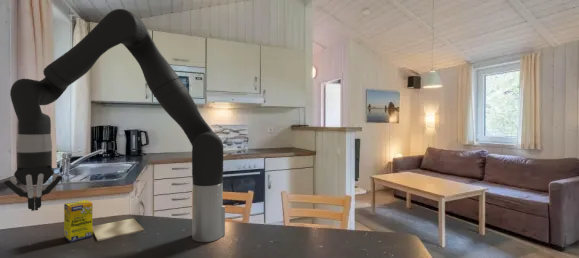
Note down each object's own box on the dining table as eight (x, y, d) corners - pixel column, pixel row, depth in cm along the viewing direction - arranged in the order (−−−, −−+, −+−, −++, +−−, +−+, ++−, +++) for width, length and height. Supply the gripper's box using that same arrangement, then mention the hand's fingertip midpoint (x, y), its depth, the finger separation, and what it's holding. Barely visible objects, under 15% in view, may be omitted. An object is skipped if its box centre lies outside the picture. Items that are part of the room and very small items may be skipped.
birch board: (133, 219, 106) (133, 218, 106) (144, 230, 95) (144, 229, 95) (90, 228, 97) (90, 226, 97) (97, 241, 86) (97, 239, 86)
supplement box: (70, 243, 85) (69, 206, 85) (63, 238, 88) (63, 203, 88) (93, 237, 90) (93, 202, 89) (86, 232, 93) (86, 199, 93)
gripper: (0, 152, 74) (1, 218, 75) (65, 149, 83) (64, 208, 84) (3, 150, 80) (3, 211, 80) (63, 147, 89) (63, 203, 89)
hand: (34, 209), depth 82 cm, fingers closed
